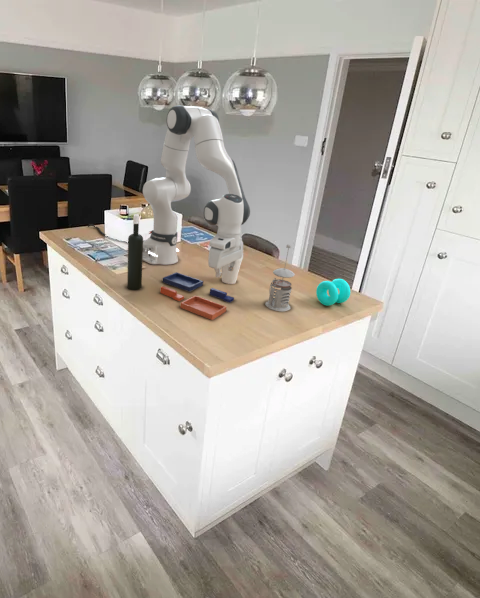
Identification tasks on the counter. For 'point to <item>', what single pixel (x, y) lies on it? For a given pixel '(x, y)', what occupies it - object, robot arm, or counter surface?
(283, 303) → the french press
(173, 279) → the navy tray
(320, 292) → the donuts
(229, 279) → the foam cup
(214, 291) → the blue stepped block
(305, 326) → the counter surface
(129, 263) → the wine bottle
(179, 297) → the orange red stepped block
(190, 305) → the terracotta tray
